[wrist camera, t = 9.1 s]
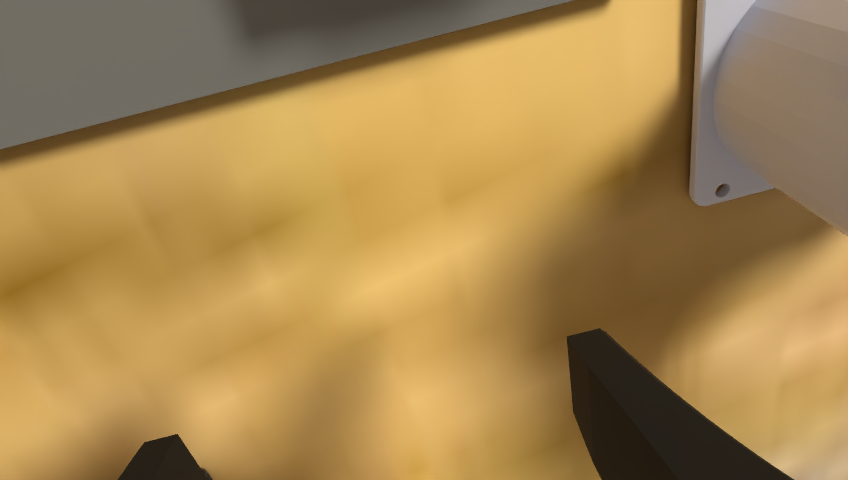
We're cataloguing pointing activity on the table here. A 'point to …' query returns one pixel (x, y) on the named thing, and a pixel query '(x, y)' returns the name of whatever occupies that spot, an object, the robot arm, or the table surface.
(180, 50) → the servo chassis
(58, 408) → the table surface
